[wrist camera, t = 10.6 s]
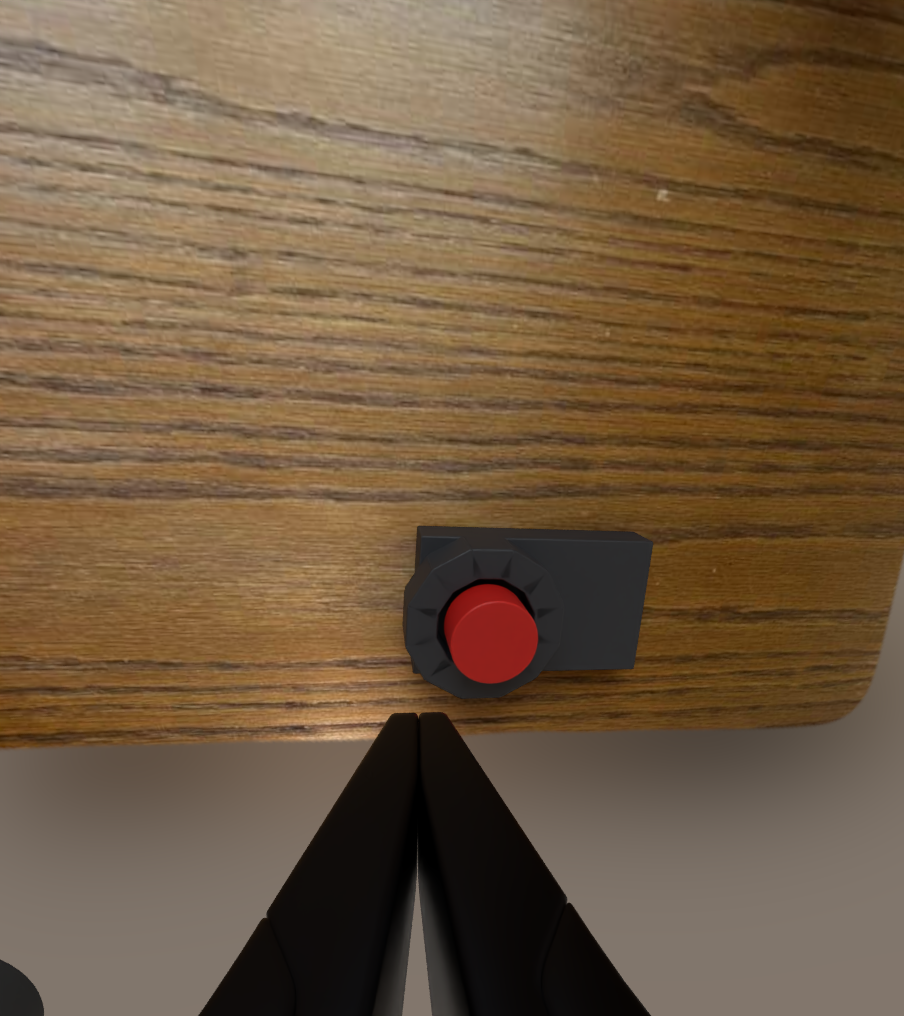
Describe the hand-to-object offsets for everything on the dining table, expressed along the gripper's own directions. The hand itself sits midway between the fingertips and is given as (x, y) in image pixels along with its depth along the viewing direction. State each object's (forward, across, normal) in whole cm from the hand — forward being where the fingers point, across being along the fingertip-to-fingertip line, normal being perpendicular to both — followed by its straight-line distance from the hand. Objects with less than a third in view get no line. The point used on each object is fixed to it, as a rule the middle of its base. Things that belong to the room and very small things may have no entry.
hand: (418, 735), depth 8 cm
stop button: (+10, -3, +4) cm, 12 cm away
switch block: (+14, -5, +5) cm, 15 cm away
